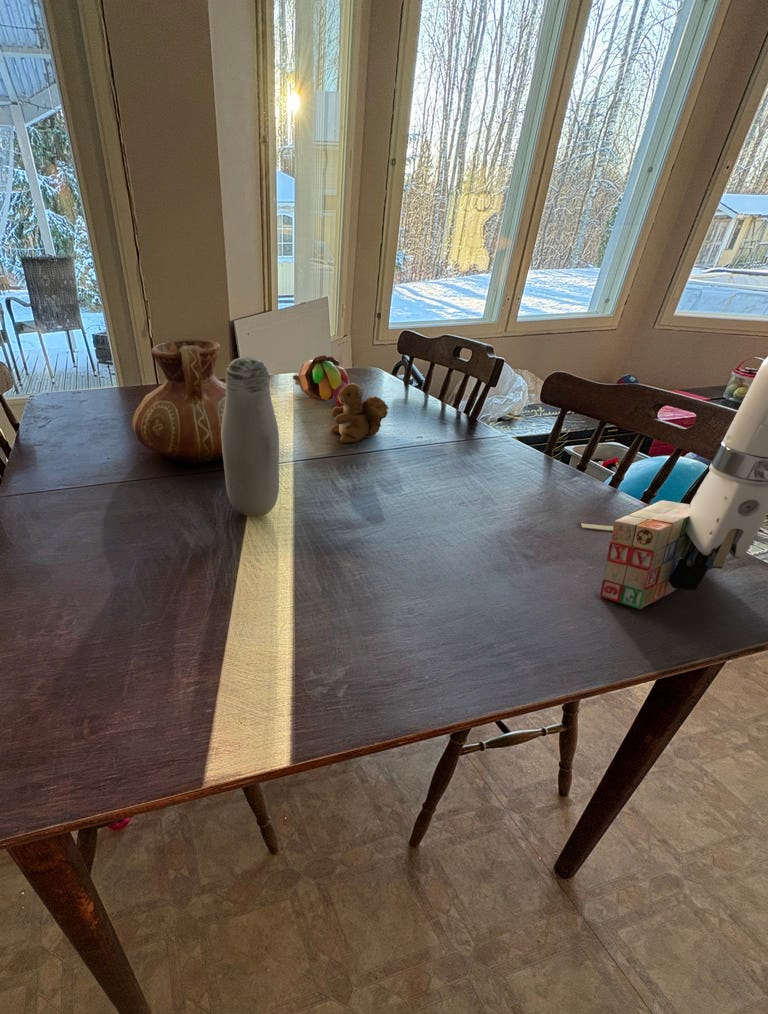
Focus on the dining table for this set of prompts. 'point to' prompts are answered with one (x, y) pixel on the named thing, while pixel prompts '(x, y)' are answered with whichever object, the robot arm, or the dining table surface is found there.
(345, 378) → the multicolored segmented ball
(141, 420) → the jug
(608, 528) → the strip
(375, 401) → the stuffed squirrel
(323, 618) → the dining table surface
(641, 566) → the stack of blocks
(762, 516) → the robot arm
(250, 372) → the grey bottle
